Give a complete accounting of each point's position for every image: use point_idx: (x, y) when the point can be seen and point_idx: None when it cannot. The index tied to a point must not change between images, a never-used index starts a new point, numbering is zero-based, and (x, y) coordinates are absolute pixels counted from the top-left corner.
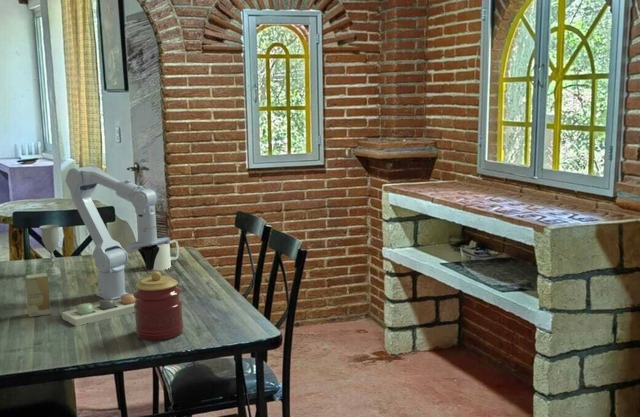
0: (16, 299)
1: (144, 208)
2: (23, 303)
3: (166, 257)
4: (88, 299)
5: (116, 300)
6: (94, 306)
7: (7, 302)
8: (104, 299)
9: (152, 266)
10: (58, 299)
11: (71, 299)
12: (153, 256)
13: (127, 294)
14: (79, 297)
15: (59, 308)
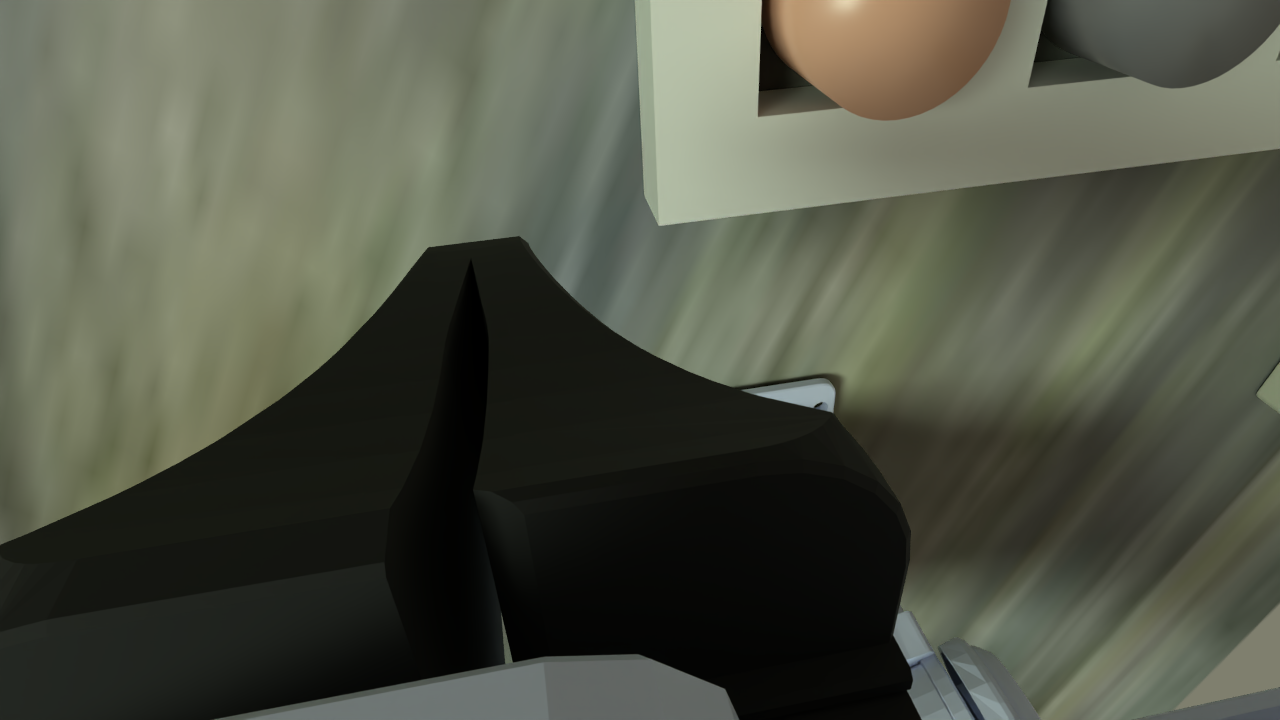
0: (1148, 689)
1: None
2: (1190, 612)
3: None
4: (903, 502)
5: (916, 172)
6: (1196, 103)
7: (1212, 662)
8: (1195, 55)
9: (449, 264)
10: (1025, 595)
11: (977, 558)
12: (395, 390)
13: (877, 84)
14: (913, 574)
15: (1176, 405)
